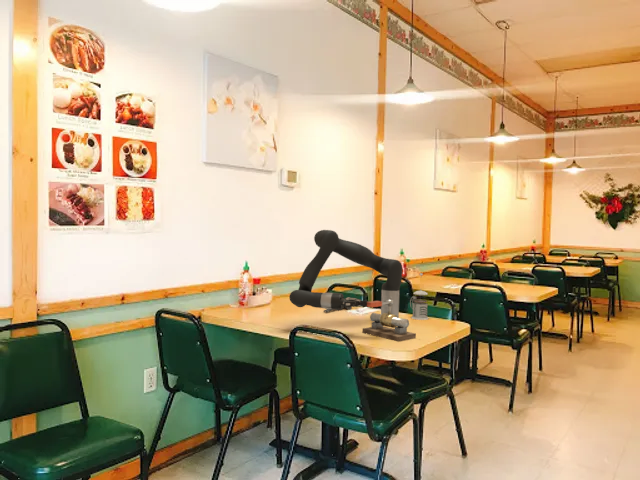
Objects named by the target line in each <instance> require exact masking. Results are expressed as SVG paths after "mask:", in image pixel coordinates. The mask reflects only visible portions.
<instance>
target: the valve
mask: <svg viewBox="0 0 640 480" xmlns="http://www.w3.org/2000/svg"><path fill="white" fill-rule="evenodd" d="M352 308H353V307H345V306H343V308H342V309H346V310H348V311H351V310H352ZM350 309H351V310H350ZM334 310H335V309H324V310H323V312H324V313H329V312H331V311H334Z"/></svg>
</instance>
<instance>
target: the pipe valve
mask: <svg viewBox="0 0 640 480" xmlns="http://www.w3.org/2000/svg"><path fill="white" fill-rule="evenodd" d="M369 320H370V321H371V326H370V327H371V329H376V330H377V329H382V328H383V326H384V327H388V328H393V329H395V334H398V335H402V334H407V332H408V327H409V326H410V321H409V320H408V319H407V318H402V317H399V318H398V317H397V315H393V314H391V305H388V313H383V314H381V313H375V312H371V314H370V315H369Z"/></svg>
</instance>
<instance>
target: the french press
mask: <svg viewBox="0 0 640 480" xmlns="http://www.w3.org/2000/svg"><path fill="white" fill-rule="evenodd" d="M423 275H424V273H421V272H420V273H419V276H420V277H422V276H423ZM414 295H415V296H414ZM416 295H417V296H420V297H419V298H420V299H416ZM427 295H429V294H428V292H426V291H424V290H422V289H420V290H416V291H414V292H413V296H412V297H411V298H410V301H409V305H410V307H411V308H412V316H411V317H410V318H411V319H413V320H419V321H426V320H429V317H428V303H427V302H428V301H427V300H426V299H421V296H427ZM412 298H413V299H412ZM411 301H412V302H411Z"/></svg>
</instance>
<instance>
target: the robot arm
mask: <svg viewBox="0 0 640 480" xmlns="http://www.w3.org/2000/svg"><path fill="white" fill-rule="evenodd" d="M313 241H314V243H315V245H316V246H317V247H318V251H317V253H316V254H315V255H314V257H313V258H312V260H310V262H309V263H308V264H307V265H306V267H305V268H304V270H303V272H302V274H301V276H300V278H299V281H298V285H299V286H298V289H294V290H292V291H291V292H290V294H289V301H290V302H291V303H292V304H293V305H294V306H296V307H298V308H304V307H305V306H310V307H312V308H319V309H324V310H326V309H335V310H336V311H341V310H342V311H343V309H344V308H343V306H345V307H352V308H358V307H367V302H370V301H369V300H362V299H361V298H355V297H345V296H344V294H343V293H341V292H319V291H317V292H315V291H314V292H313V291H312V289H313V287H314V284H315V283H316V281H317V279H318V276H319V274H320V273H321V270H322V269H323V268H324V266H325V264H326V262H327V261H328V259H329V258H330V257H331V255H332V253H336V254H338V255H339V256H342V257H343V258H345V259H347V260H349V261H351V262H353V263H356V264H357V265H360V266H364V267H366V268H370V269H372V270H374V271H376V272H378V273H380V274H381V275H382V276H385V277H386V280H385V282H383V283H382V285H381V297H380V298H381V300H380V301H386V300H387V299H391V300H393V305H391V314H393V315H397V317H398V318H400V317H399V316H400V315H399V314H400V312H399V311H400V288H401V285H402V278H403V265H402V263H401V261H400V260H398V259H394V258H393V259H392V258H385V257H382V256H379V255H377V254H376V253H374V252H373V251H372V250H371V249H369V248H368V247H367V246H364V245H362V244H359V243H356V242H353V241H349V240H345V239H341V238H340V237H339V234H338V233H337V232H336V231H334V230H331V229H321V230H319V231H317V232H316V233H315V234H314V237H313ZM383 313H388V305H387V304H383V305H382V306H380V314H383Z"/></svg>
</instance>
